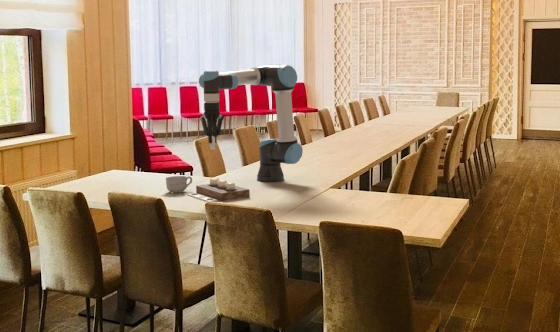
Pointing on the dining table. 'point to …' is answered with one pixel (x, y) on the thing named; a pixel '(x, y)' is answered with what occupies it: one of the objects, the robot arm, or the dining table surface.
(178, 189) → the teacup
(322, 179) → the dining table surface
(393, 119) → the dining table surface
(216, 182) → the button
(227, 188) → the button
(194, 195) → the card
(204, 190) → the board
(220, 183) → the button
